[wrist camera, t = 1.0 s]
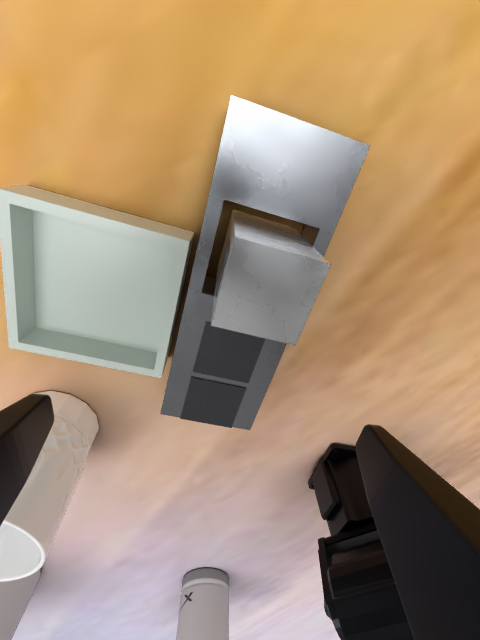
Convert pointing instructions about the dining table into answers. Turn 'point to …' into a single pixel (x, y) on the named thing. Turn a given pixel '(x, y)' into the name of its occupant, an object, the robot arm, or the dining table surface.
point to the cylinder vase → (15, 602)
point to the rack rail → (233, 185)
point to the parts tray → (90, 280)
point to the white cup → (47, 488)
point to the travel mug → (204, 606)
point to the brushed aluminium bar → (266, 279)
